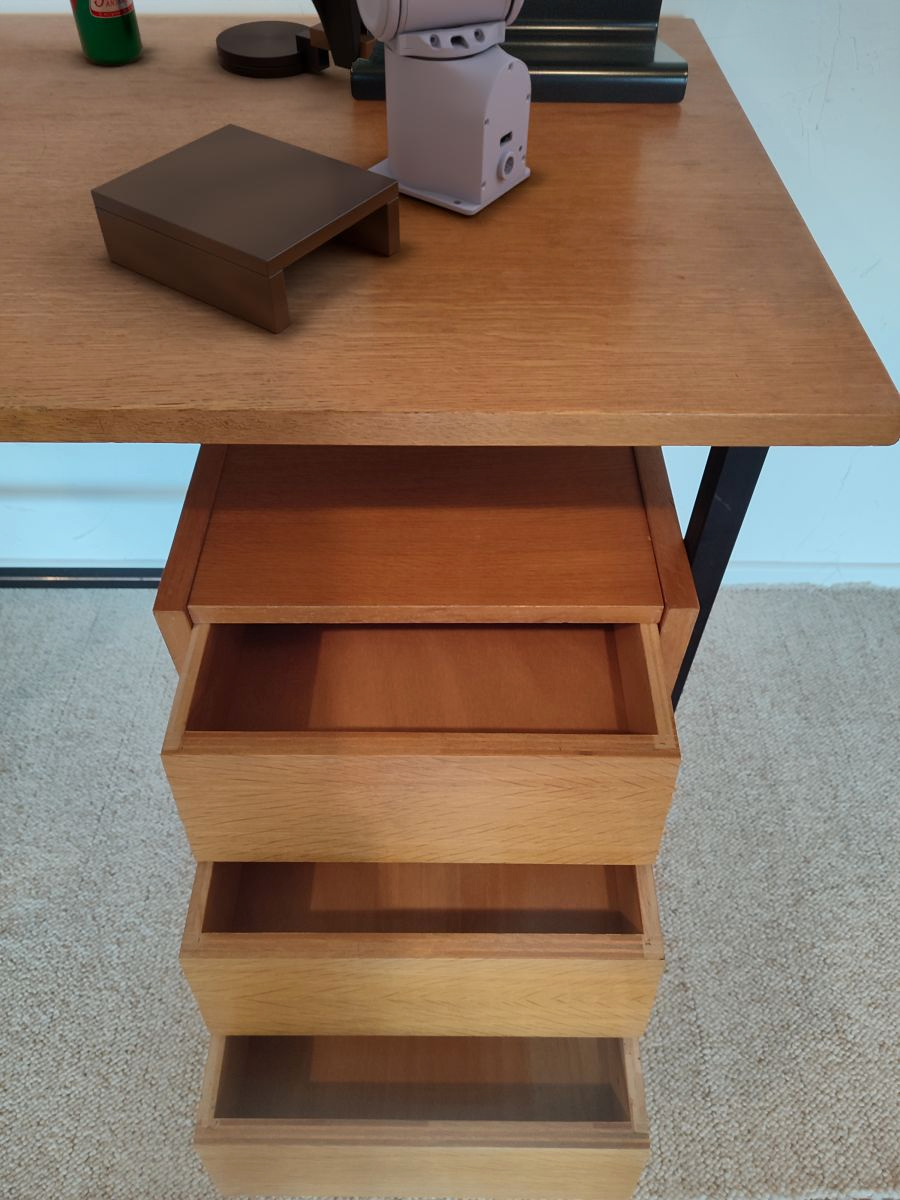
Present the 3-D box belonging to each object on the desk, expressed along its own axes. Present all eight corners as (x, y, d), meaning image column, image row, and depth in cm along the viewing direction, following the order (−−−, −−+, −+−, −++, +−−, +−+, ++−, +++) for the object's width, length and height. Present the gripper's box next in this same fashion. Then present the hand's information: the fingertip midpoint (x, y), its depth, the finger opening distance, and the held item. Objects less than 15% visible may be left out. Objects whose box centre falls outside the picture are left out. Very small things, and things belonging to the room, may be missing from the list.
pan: (197, 62, 80) (188, 13, 78) (266, 33, 85) (261, -14, 83) (340, 106, 75) (336, 56, 72) (406, 73, 80) (405, 24, 77)
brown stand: (400, 249, 60) (398, 179, 56) (276, 334, 53) (266, 261, 50) (240, 189, 65) (229, 122, 62) (109, 260, 58) (89, 189, 55)
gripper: (361, -168, 72) (370, 28, 82) (231, -135, 64) (259, 78, 74) (435, -156, 69) (434, 45, 79) (310, -119, 61) (327, 99, 72)
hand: (354, 62), depth 77 cm, fingers closed on pan, 2 cm apart
